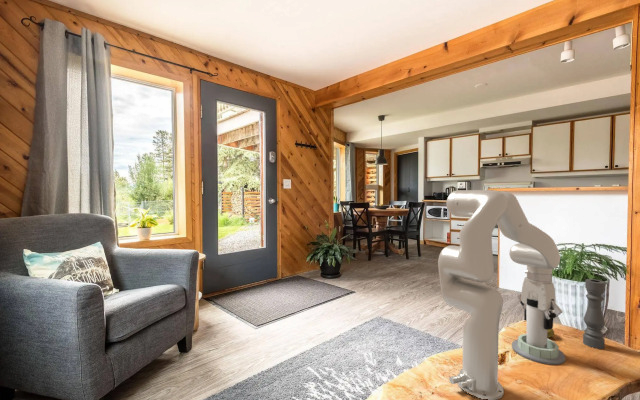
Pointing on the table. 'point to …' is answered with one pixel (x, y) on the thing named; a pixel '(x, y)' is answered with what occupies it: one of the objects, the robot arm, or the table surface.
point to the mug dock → (540, 360)
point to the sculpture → (550, 333)
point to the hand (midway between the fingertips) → (538, 324)
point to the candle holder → (594, 314)
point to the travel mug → (535, 325)
